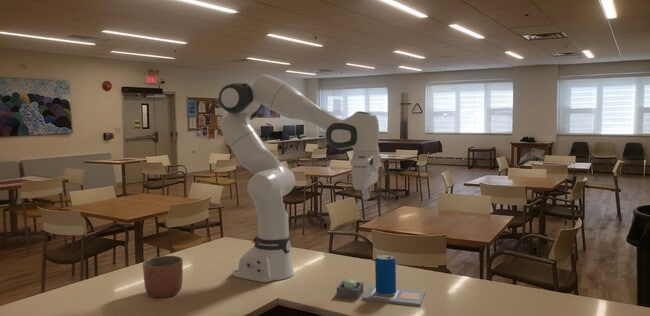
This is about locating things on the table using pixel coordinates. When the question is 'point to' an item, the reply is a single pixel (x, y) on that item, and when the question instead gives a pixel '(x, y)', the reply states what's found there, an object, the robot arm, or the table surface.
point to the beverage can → (385, 274)
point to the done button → (350, 283)
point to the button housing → (350, 291)
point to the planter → (163, 275)
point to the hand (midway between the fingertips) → (366, 199)
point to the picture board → (396, 296)
